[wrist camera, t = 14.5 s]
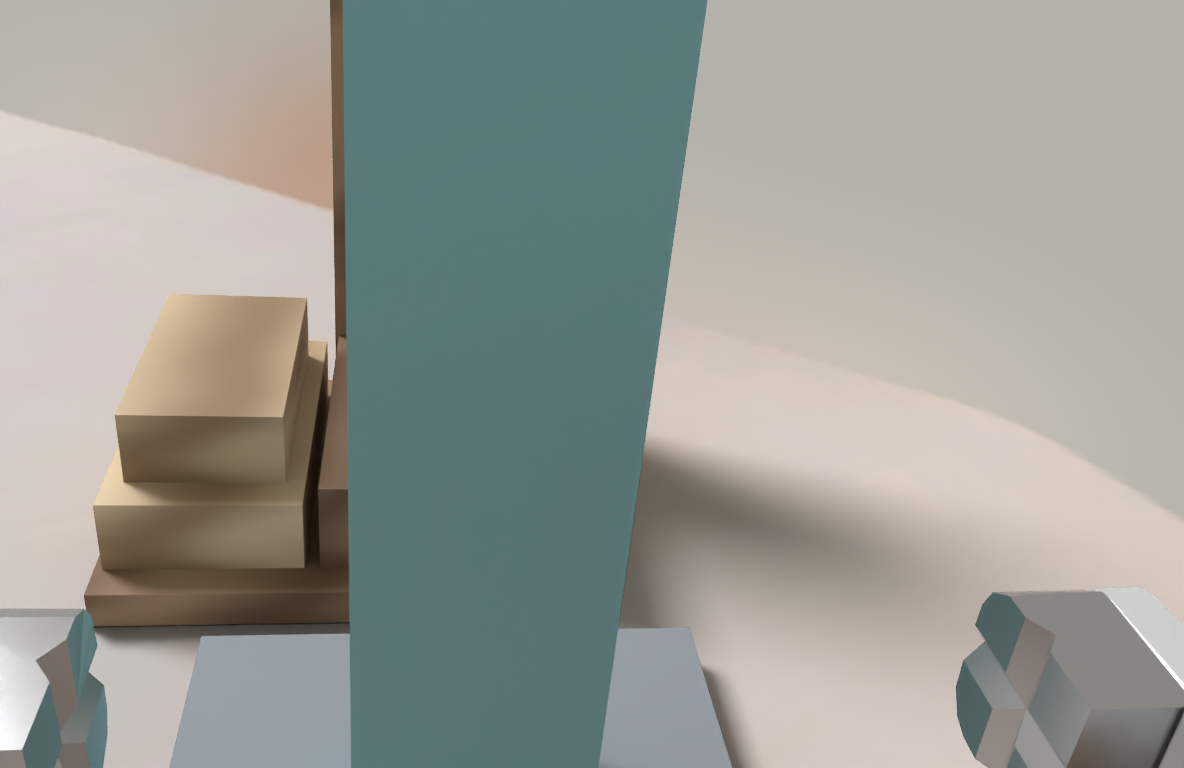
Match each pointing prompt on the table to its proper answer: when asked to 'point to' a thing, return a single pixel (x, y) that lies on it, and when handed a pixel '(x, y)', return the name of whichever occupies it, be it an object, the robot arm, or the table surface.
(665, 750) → the slate mat
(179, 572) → the walnut rack
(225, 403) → the upper oak offcut
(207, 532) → the lower oak offcut
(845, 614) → the table surface
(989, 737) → the robot arm
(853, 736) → the table surface
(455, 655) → the tall teal block
